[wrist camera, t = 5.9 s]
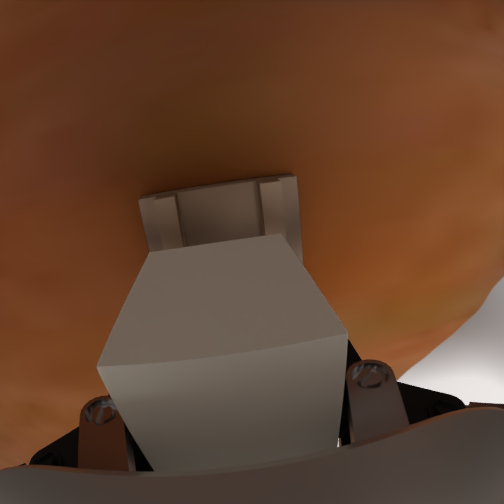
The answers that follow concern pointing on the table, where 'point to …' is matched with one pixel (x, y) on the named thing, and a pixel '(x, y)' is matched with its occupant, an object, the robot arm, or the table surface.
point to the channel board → (223, 213)
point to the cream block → (226, 357)
